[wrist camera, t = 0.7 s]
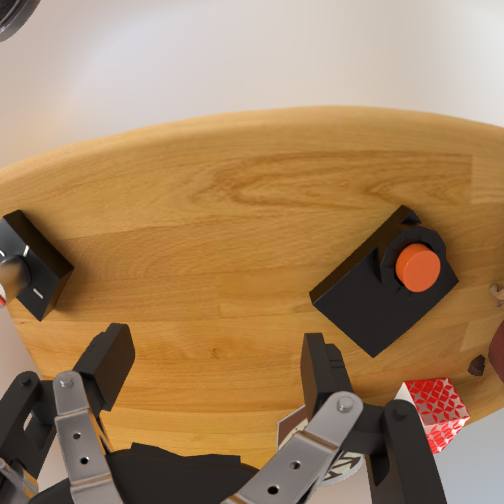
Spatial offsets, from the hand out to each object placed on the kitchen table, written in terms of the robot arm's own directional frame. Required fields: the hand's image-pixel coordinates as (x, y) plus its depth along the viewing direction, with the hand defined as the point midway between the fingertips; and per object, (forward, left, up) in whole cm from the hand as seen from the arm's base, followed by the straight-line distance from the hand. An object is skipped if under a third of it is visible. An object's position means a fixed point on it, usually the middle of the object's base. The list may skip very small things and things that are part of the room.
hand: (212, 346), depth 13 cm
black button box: (+13, +7, -14) cm, 21 cm away
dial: (-16, -18, -11) cm, 27 cm away
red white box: (+33, 0, -15) cm, 36 cm away
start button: (+11, +10, -11) cm, 18 cm away
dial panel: (-16, -18, -14) cm, 28 cm away
